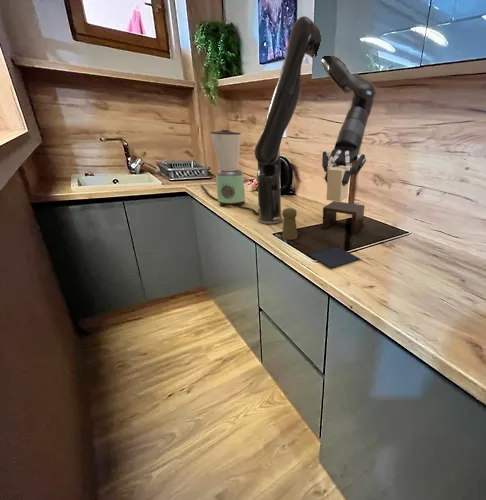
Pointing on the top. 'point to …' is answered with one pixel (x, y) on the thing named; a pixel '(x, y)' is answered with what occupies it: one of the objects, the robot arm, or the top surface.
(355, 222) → the shelf
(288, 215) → the olive pepper mill
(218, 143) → the green blender
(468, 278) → the top surface
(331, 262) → the mat
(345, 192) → the block
